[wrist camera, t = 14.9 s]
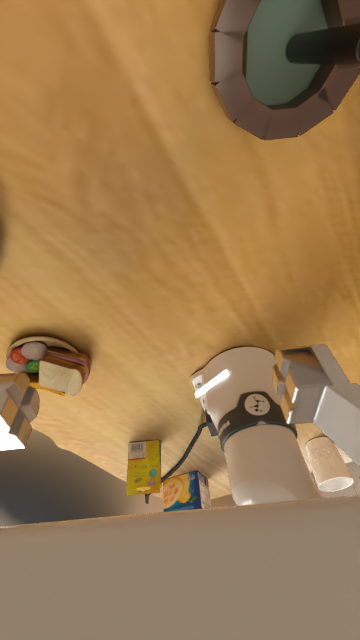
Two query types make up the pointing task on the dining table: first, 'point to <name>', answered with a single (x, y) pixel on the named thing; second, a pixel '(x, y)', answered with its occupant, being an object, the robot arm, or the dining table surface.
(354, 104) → the dining table surface
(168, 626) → the robot arm
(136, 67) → the dining table surface
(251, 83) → the stand
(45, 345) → the toy sandwich meal
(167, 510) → the blue yellow food box
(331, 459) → the white cup
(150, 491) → the crayon box
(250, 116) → the ring
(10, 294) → the dining table surface
